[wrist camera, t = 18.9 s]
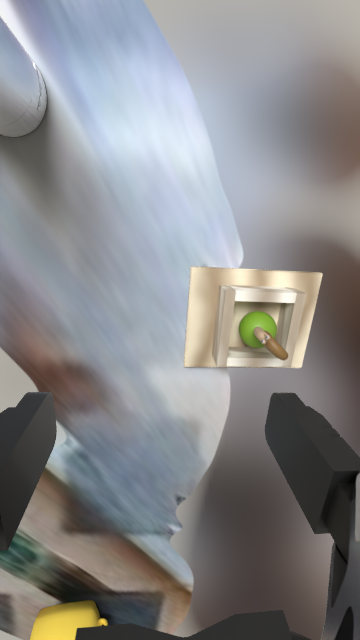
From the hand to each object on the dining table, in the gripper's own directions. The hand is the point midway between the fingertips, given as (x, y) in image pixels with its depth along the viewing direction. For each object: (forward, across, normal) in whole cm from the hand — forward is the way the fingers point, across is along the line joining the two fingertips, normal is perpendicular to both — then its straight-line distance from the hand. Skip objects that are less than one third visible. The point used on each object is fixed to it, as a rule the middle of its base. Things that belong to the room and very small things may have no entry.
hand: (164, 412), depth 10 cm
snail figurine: (+31, -15, +7) cm, 35 cm away
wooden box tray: (+32, -15, +7) cm, 36 cm away
